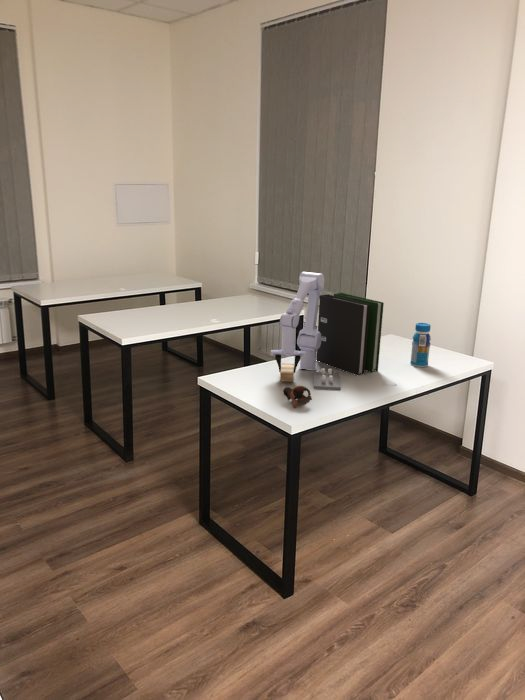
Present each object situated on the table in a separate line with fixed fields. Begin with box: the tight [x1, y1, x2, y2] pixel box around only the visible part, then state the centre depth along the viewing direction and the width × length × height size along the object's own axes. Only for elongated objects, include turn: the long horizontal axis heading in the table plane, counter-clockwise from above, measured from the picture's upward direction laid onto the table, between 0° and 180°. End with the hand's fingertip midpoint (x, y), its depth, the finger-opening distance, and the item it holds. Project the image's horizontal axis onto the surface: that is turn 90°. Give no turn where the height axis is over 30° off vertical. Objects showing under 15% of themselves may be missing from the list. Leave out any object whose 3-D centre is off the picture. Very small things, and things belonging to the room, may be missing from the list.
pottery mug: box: [282, 385, 313, 409], centre depth 224 cm, size 12×10×8 cm
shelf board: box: [279, 362, 295, 383], centre depth 251 cm, size 14×6×4 cm, turn 176°
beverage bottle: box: [410, 322, 432, 368], centre depth 276 cm, size 8×8×20 cm
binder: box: [316, 292, 385, 376], centre depth 270 cm, size 27×15×32 cm, turn 37°
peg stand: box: [312, 367, 342, 391], centre depth 250 cm, size 20×11×4 cm, turn 176°
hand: (287, 371), depth 251 cm, fingers closed on shelf board, 5 cm apart
